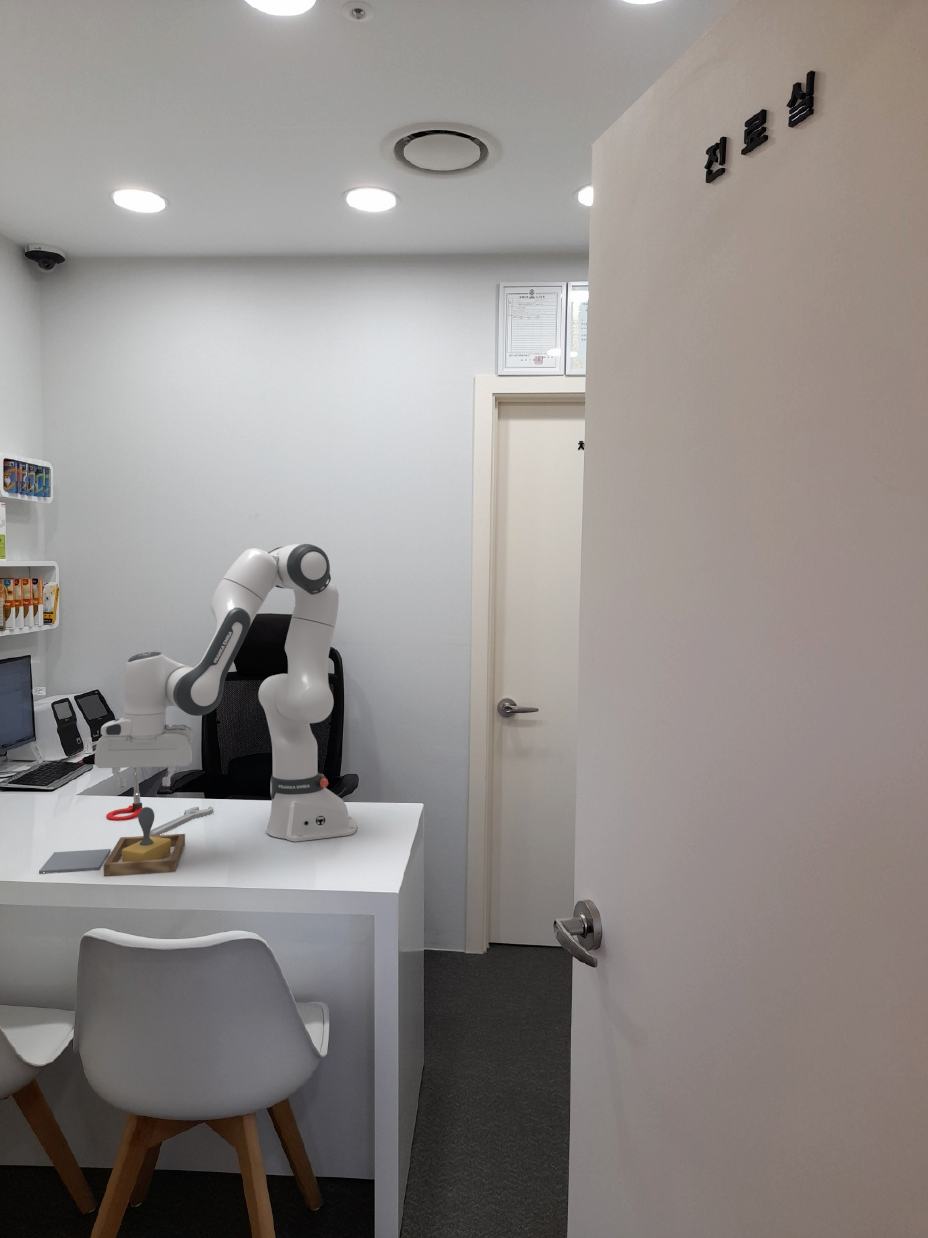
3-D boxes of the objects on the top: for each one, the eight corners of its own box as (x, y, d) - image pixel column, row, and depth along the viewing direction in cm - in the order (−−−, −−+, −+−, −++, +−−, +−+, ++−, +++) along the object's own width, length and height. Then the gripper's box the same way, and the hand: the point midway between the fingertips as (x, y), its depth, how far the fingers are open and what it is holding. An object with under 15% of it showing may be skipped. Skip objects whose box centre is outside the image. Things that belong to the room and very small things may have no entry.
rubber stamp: (150, 851, 191) (149, 800, 190) (171, 854, 189) (171, 802, 188) (120, 865, 181) (120, 812, 181) (142, 868, 180) (142, 814, 179)
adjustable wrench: (150, 842, 199) (149, 835, 199) (129, 838, 201) (129, 831, 201) (217, 813, 222) (217, 807, 222) (197, 810, 224) (197, 804, 224)
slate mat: (110, 851, 190) (110, 849, 190) (99, 870, 178) (99, 867, 178) (54, 854, 188) (54, 852, 187) (39, 873, 176) (39, 871, 176)
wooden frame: (185, 844, 196) (185, 833, 196) (175, 871, 178) (174, 860, 178) (120, 848, 193) (120, 837, 192) (103, 876, 175) (103, 864, 174)
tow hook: (119, 824, 212) (150, 814, 220) (116, 775, 211) (147, 767, 218) (99, 819, 216) (130, 809, 224) (96, 771, 215) (127, 763, 223)
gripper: (194, 722, 189) (194, 781, 189) (99, 723, 184) (99, 784, 185) (191, 727, 183) (191, 788, 183) (93, 728, 178) (92, 791, 179)
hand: (144, 786), depth 184 cm, fingers open, 8 cm apart
